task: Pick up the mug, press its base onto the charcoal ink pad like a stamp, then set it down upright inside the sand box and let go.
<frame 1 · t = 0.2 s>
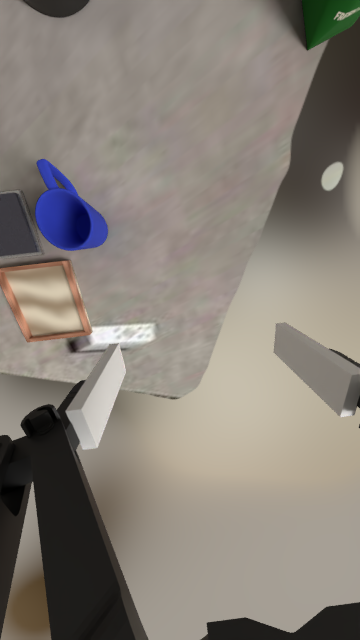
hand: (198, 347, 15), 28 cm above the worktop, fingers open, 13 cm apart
milk carton: (325, 7, 27), on the worktop
mug: (88, 218, 35), on the worktop
sand box: (50, 302, 40), on the worktop
ink pad: (11, 227, 35), on the worktop
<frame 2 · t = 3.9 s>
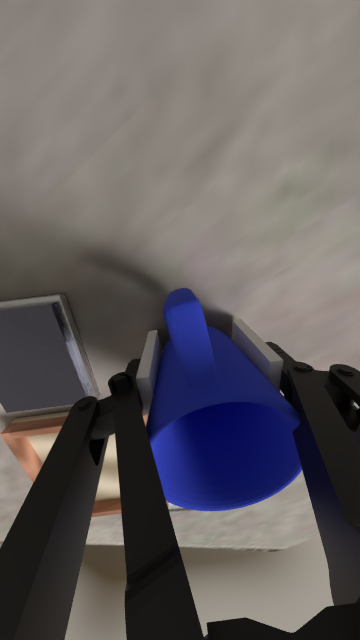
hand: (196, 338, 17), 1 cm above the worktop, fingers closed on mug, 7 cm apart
mug: (192, 335, 17), on the worktop, touching gripper
sand box: (102, 459, 23), on the worktop
ink pad: (37, 355, 17), on the worktop
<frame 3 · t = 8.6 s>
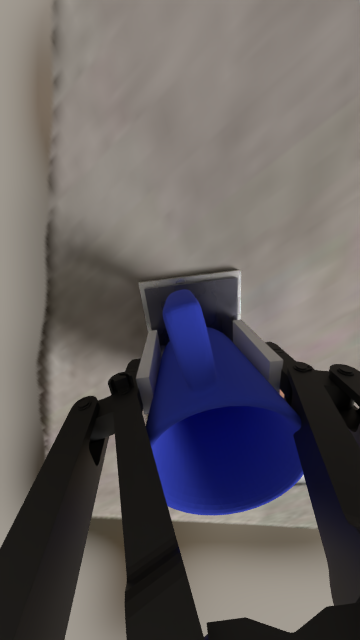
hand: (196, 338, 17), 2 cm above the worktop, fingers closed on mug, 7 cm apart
mug: (192, 336, 17), point 1 cm above the worktop, touching gripper, ink pad
ink pad: (194, 330, 18), on the worktop
when the fingers open (3 cm above the worktop, at t = 13.6 s): mug drops 2 cm, resting on sand box.
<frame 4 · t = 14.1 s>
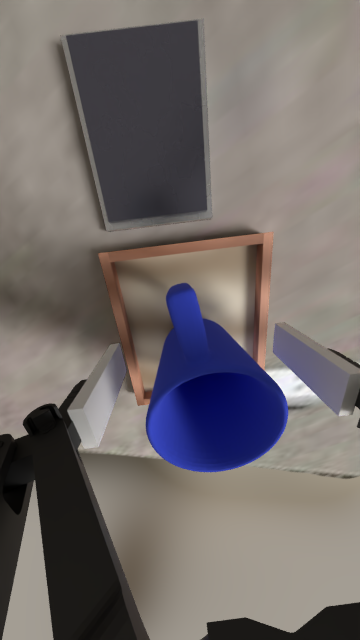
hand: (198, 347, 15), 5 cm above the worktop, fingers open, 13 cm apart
mug: (190, 327, 19), resting on sand box
sand box: (192, 326, 19), on the worktop
ink pad: (149, 146, 14), on the worktop
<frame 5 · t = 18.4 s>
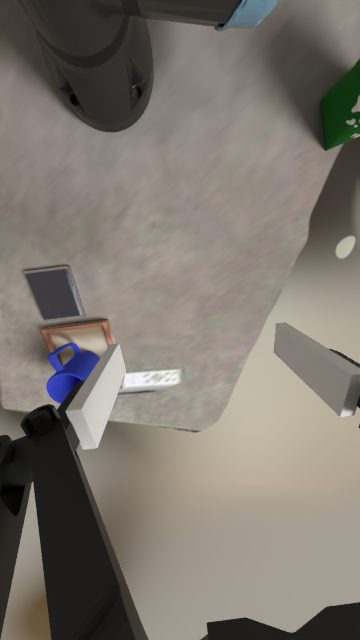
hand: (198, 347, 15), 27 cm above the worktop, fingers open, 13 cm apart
milk carton: (341, 117, 31), on the worktop
mug: (86, 354, 44), resting on sand box
sand box: (87, 354, 45), on the worktop
ink pad: (57, 294, 39), on the worktop
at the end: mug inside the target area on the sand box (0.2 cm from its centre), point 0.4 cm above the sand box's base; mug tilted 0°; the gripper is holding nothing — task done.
